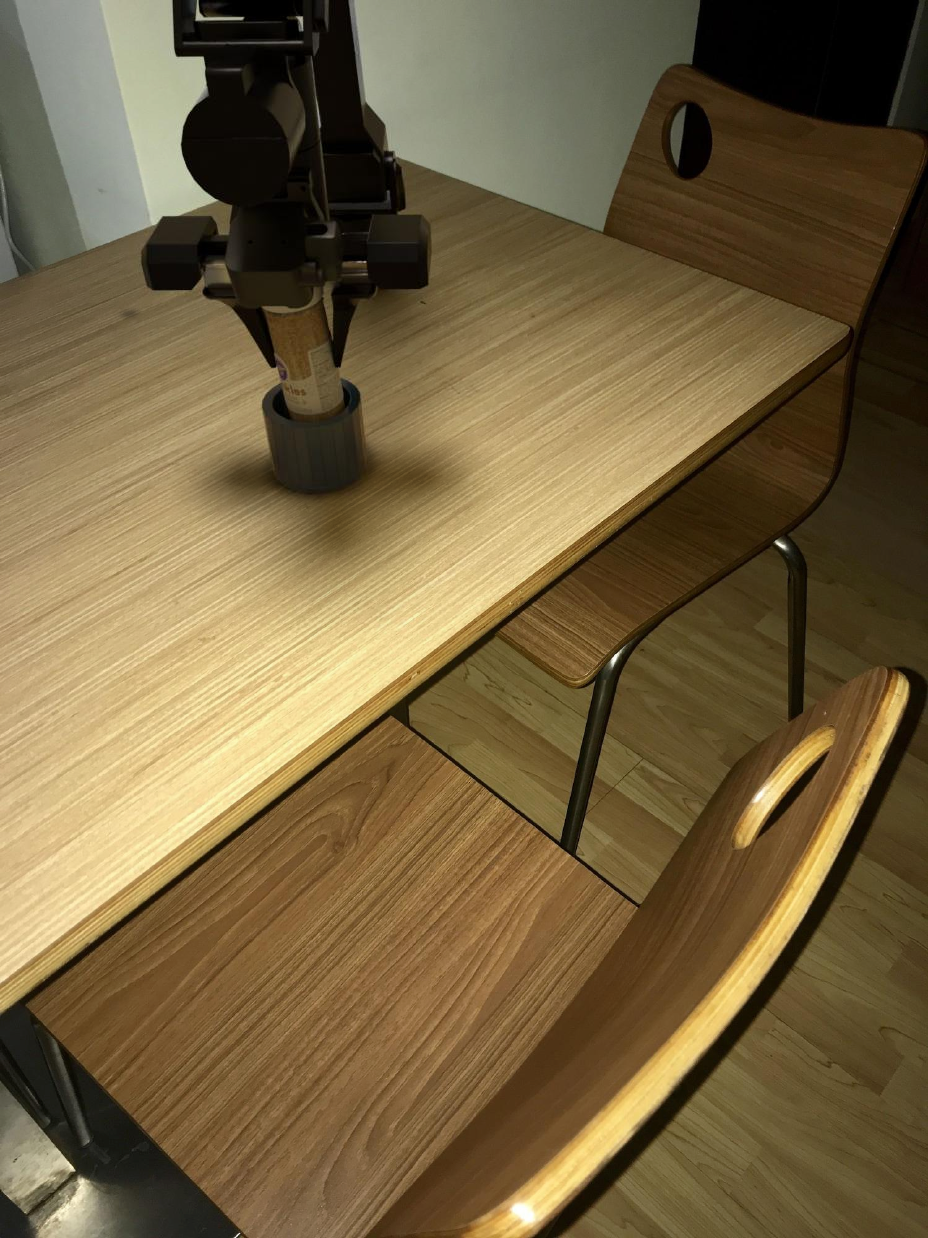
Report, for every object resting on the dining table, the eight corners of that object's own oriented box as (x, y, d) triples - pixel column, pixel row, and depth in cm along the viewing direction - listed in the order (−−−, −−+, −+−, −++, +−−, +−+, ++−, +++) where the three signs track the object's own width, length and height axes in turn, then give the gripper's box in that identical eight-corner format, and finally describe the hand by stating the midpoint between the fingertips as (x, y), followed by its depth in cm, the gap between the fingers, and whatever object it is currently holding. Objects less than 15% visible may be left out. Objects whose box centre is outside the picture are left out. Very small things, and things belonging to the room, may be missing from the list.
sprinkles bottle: (282, 442, 77) (238, 277, 67) (324, 413, 79) (287, 250, 70) (323, 460, 74) (283, 293, 65) (365, 431, 77) (332, 264, 67)
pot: (319, 428, 82) (310, 363, 78) (386, 460, 79) (381, 394, 75) (254, 470, 78) (241, 405, 74) (321, 506, 75) (312, 439, 71)
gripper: (87, 193, 56) (152, 427, 67) (418, 191, 55) (429, 427, 66) (137, 124, 64) (188, 344, 75) (427, 121, 63) (435, 343, 74)
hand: (306, 365), depth 72 cm, fingers closed on sprinkles bottle, 4 cm apart
